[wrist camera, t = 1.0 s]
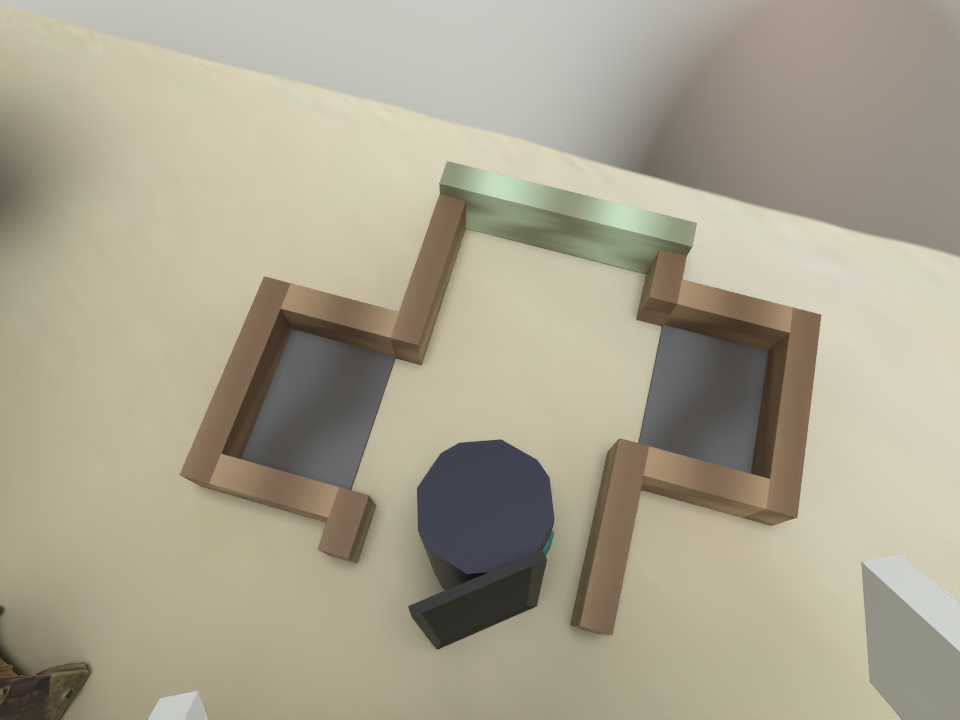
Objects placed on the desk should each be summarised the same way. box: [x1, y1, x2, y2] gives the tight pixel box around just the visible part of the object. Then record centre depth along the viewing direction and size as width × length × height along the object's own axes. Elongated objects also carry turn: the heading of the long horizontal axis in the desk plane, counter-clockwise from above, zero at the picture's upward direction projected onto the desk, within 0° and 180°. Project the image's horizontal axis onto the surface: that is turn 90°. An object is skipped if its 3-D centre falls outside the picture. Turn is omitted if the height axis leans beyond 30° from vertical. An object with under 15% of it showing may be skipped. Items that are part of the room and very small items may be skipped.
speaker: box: [408, 440, 554, 649], centre depth 32 cm, size 8×6×10 cm
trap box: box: [180, 161, 821, 635], centre depth 37 cm, size 29×22×4 cm
